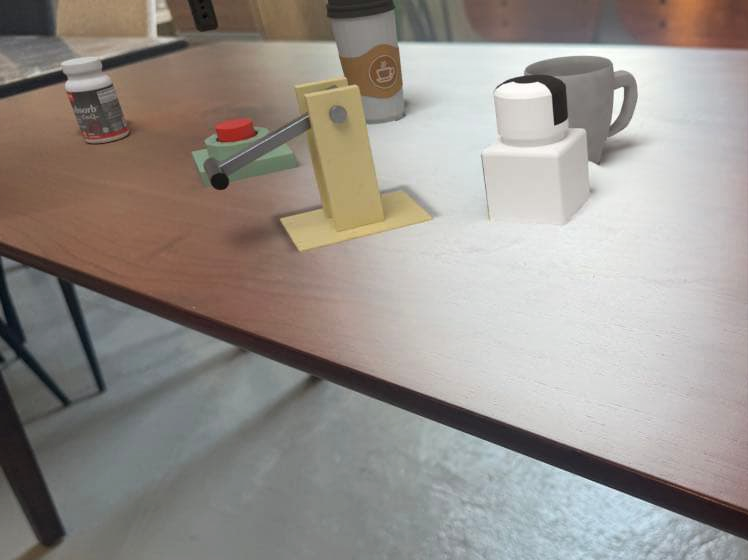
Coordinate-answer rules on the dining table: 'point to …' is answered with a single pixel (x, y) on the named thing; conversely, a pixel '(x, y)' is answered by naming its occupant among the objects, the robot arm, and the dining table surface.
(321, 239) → the lever bracket
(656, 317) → the dining table surface
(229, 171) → the lever
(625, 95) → the mug
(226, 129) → the button
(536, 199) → the medicine bottle
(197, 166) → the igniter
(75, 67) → the pill bottle
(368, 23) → the coffee cup
